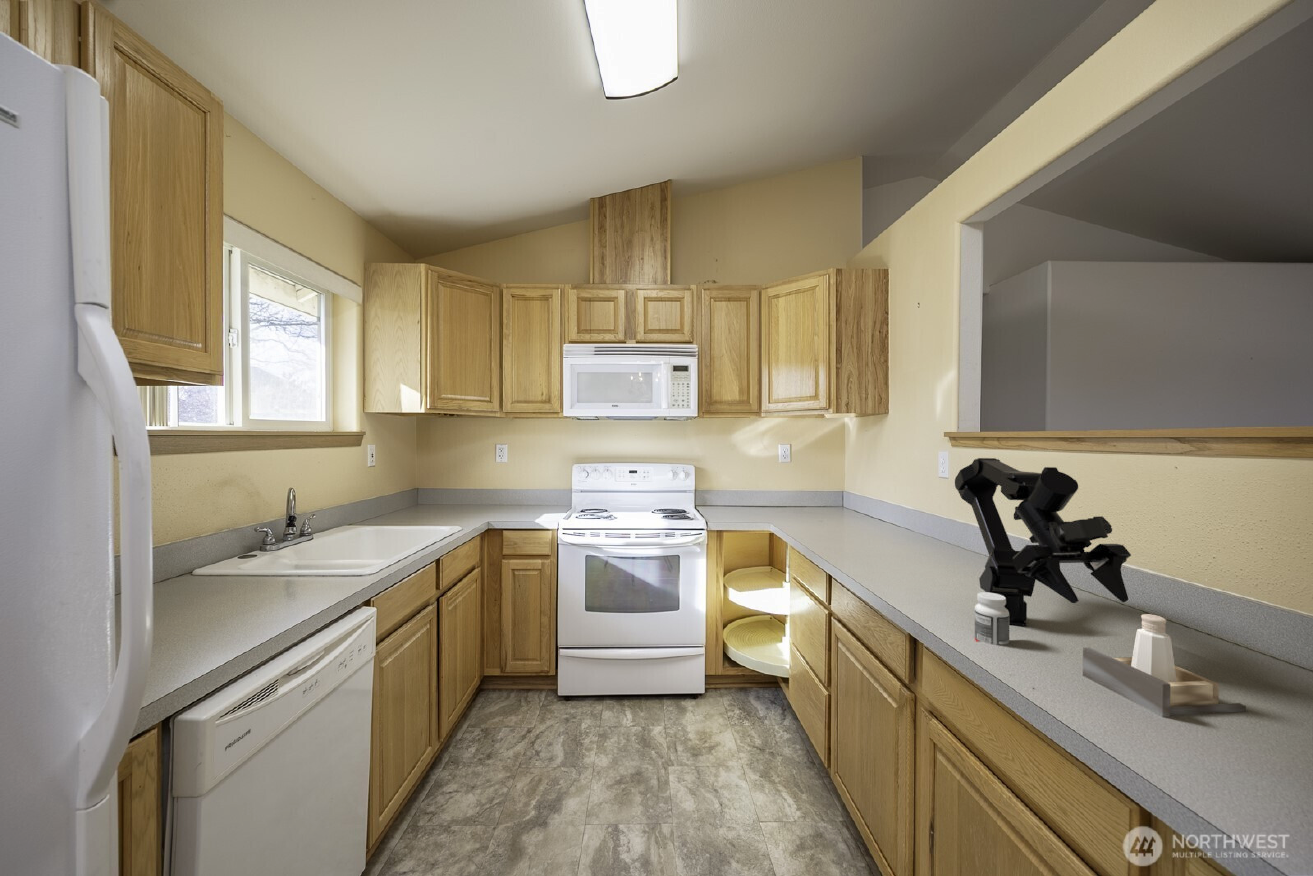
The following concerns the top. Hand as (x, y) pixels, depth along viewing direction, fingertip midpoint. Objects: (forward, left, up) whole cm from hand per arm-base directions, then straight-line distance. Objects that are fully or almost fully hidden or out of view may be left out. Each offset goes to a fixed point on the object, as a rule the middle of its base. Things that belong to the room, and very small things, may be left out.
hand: (1101, 601), depth 84 cm
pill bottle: (-14, +8, -13) cm, 21 cm away
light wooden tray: (+5, -6, -12) cm, 14 cm away
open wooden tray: (+4, -4, -13) cm, 14 cm away
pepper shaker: (+4, -6, -11) cm, 13 cm away
